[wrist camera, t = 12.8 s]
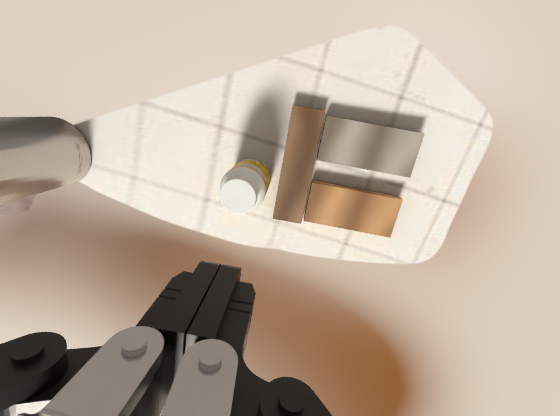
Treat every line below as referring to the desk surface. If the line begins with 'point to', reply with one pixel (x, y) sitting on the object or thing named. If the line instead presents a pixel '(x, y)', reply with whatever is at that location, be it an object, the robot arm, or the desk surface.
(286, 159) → the walnut panel
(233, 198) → the supplement bottle
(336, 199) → the chestnut plank
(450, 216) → the desk surface
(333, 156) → the grey ash plank
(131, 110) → the desk surface
